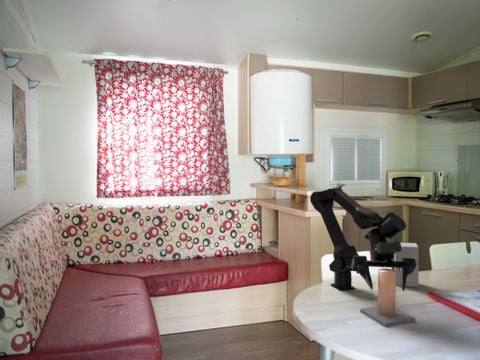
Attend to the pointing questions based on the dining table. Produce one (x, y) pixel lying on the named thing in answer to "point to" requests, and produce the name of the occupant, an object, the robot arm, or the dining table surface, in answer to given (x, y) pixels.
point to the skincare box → (408, 251)
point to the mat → (387, 317)
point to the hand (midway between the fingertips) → (387, 289)
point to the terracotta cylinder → (386, 292)
